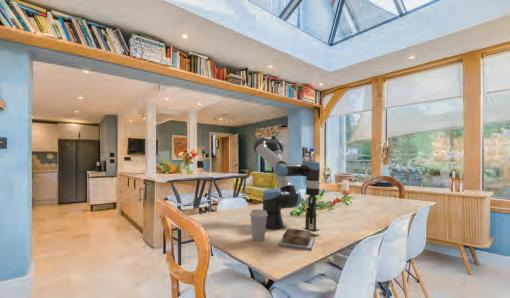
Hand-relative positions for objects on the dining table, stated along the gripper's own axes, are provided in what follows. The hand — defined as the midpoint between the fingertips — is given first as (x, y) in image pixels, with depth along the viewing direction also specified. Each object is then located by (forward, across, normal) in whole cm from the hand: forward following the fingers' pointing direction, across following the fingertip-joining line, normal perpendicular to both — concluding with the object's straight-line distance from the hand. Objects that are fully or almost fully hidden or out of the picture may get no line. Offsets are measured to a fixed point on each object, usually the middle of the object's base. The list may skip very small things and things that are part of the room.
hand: (311, 227), depth 137 cm
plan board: (+3, -18, +6) cm, 20 cm away
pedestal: (+3, -18, +6) cm, 20 cm away
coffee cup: (+4, -21, +26) cm, 34 cm away
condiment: (+1, -1, 0) cm, 1 cm away
